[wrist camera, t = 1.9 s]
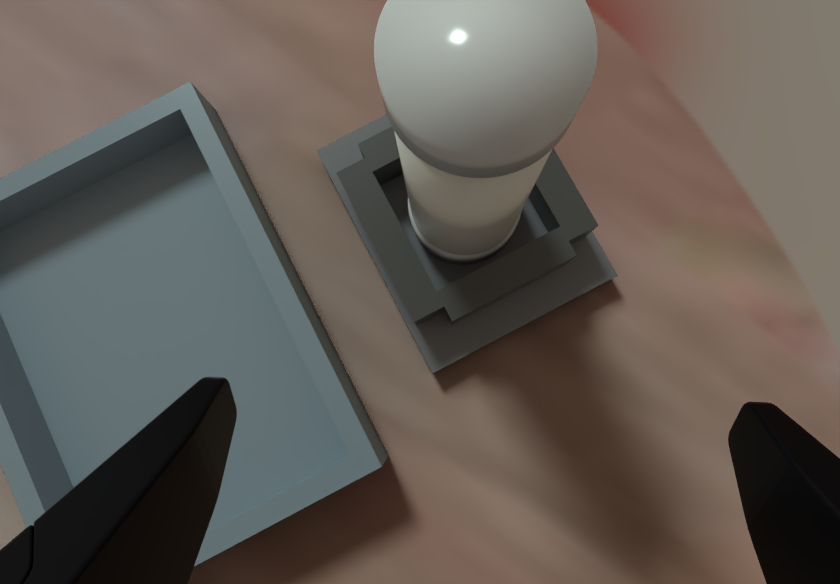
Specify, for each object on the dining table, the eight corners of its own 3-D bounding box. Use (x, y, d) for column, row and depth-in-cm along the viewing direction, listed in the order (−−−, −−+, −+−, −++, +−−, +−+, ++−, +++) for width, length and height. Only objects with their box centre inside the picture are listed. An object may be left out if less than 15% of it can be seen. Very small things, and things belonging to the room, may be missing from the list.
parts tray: (388, 455, 23) (382, 466, 20) (110, 603, 22) (69, 633, 20) (215, 109, 25) (190, 81, 22) (-41, 241, 24) (-96, 227, 22)
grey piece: (611, 278, 23) (633, 267, 21) (433, 373, 23) (431, 373, 20) (490, 69, 24) (496, 34, 22) (320, 157, 24) (306, 132, 22)
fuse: (536, 232, 23) (639, 89, 11) (441, 283, 23) (438, 193, 11) (485, 141, 23) (528, -92, 11) (391, 190, 23) (336, 6, 11)
